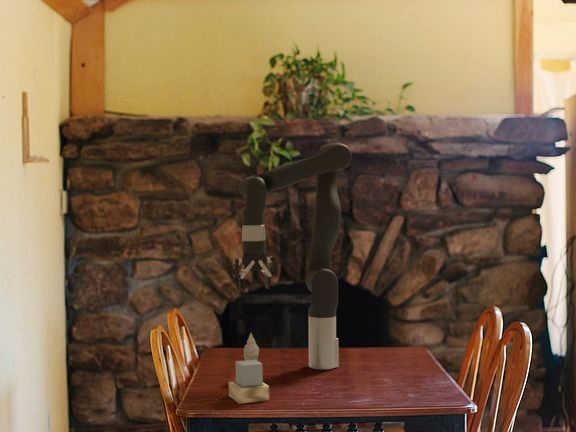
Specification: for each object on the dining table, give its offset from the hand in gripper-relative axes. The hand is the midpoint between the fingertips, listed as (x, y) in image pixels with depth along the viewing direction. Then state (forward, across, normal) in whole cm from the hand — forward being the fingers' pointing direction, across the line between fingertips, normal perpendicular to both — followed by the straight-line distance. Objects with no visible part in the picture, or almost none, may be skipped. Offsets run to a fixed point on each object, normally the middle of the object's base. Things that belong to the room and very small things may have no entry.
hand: (254, 289), depth 247 cm
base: (+28, +12, +25) cm, 39 cm away
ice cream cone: (+28, +4, +5) cm, 29 cm away
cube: (+23, +12, +25) cm, 36 cm away
